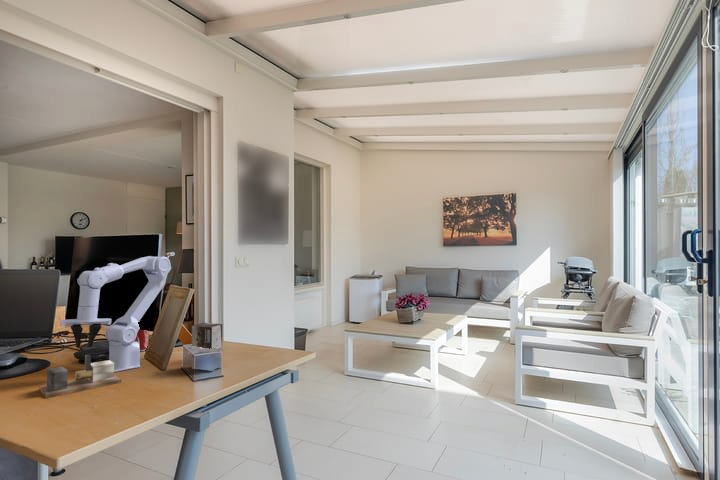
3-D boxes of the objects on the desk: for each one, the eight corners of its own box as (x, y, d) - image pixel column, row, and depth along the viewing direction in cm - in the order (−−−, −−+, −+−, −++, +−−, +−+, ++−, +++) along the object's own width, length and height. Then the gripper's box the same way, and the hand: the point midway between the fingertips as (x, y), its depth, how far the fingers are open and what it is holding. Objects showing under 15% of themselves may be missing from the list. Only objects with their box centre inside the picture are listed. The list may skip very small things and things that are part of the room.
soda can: (142, 352, 175) (143, 323, 175) (131, 351, 176) (132, 322, 176) (151, 349, 180) (151, 321, 180) (140, 348, 181) (141, 320, 182)
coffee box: (222, 367, 155) (223, 323, 155) (211, 372, 149) (212, 326, 149) (202, 364, 158) (203, 322, 158) (190, 369, 152) (191, 325, 152)
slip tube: (106, 373, 140) (107, 351, 140) (109, 375, 138) (109, 352, 138) (74, 379, 133) (75, 356, 133) (77, 381, 131) (77, 357, 131)
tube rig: (111, 375, 144) (111, 356, 144) (121, 382, 137) (121, 362, 137) (39, 389, 129) (39, 368, 129) (46, 398, 122) (46, 375, 123)
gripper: (108, 305, 150) (104, 343, 149) (59, 305, 140) (55, 346, 138) (115, 306, 145) (110, 346, 144) (65, 307, 135) (60, 350, 134)
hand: (83, 346), depth 141 cm, fingers open, 3 cm apart
